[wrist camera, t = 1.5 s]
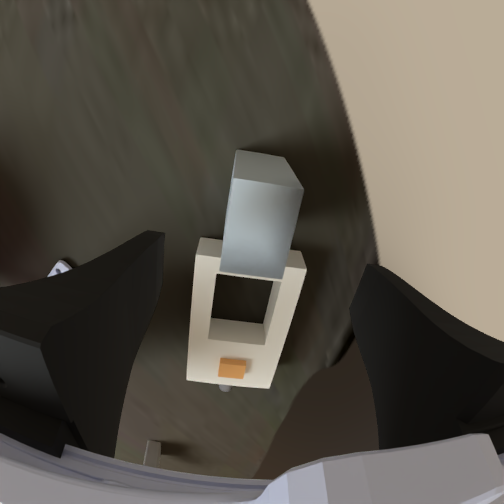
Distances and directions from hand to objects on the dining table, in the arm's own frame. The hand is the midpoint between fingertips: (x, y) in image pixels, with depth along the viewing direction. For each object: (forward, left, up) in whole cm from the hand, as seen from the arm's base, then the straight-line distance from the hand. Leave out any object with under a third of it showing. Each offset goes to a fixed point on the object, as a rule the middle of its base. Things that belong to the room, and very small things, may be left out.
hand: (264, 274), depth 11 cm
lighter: (-34, -18, -11) cm, 39 cm away
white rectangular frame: (-8, -7, -10) cm, 15 cm away
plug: (0, 0, -11) cm, 11 cm away
